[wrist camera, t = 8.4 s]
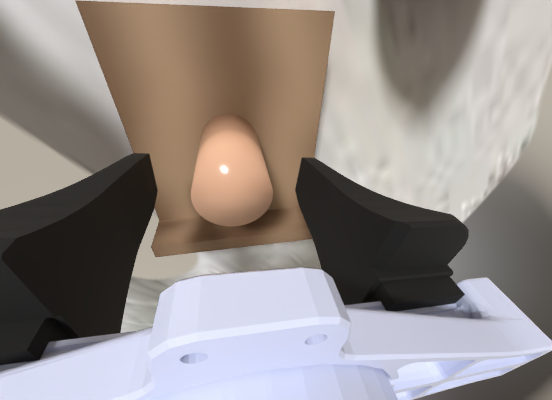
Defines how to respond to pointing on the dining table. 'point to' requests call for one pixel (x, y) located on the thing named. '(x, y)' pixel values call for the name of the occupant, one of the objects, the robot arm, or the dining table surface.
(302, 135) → the brown wooden box
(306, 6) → the dining table surface
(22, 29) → the dining table surface
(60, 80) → the dining table surface
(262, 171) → the peach rounded cylinder
